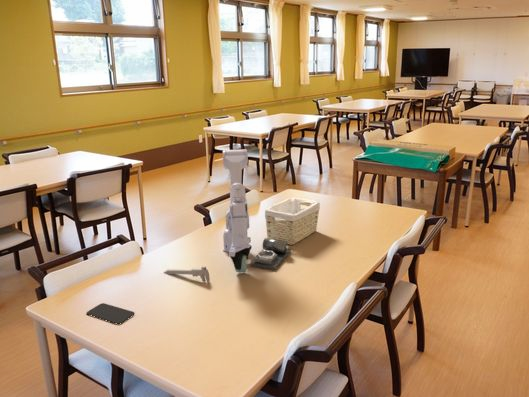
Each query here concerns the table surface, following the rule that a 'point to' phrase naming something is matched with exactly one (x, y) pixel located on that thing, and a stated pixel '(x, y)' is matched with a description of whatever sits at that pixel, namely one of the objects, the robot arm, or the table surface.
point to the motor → (271, 254)
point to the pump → (244, 264)
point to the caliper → (192, 273)
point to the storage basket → (292, 220)
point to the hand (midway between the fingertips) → (240, 266)
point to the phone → (110, 313)
